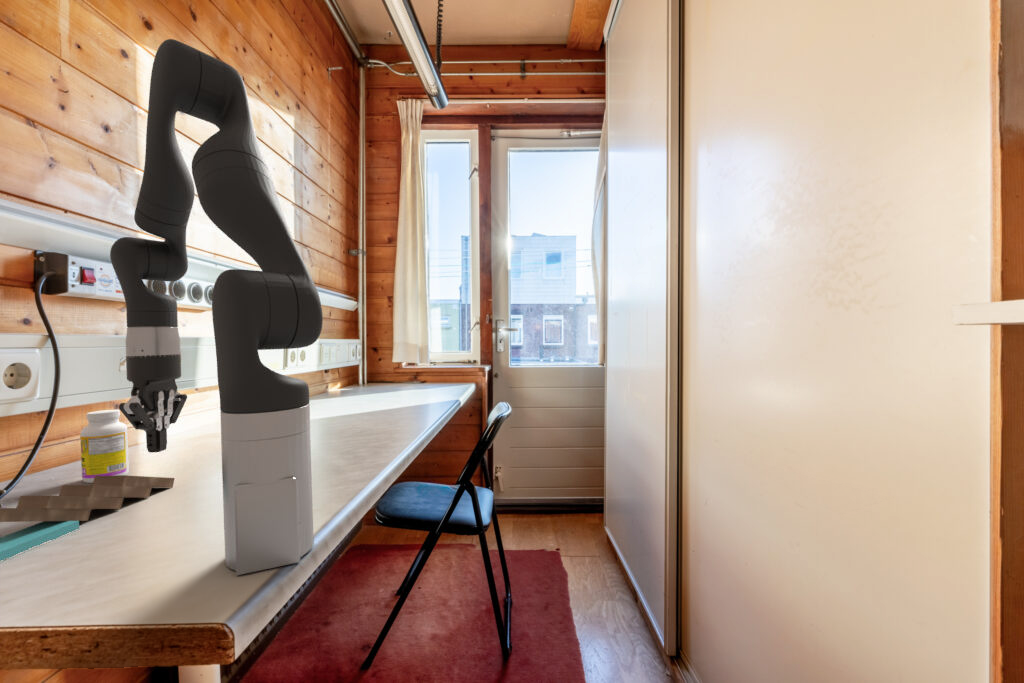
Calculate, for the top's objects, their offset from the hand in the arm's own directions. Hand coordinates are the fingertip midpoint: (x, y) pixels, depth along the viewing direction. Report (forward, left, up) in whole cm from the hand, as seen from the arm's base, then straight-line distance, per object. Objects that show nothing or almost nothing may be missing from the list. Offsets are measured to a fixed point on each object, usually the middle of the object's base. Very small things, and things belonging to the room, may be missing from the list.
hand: (157, 451), depth 79 cm
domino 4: (-5, +2, -6) cm, 7 cm away
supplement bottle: (+12, +11, -7) cm, 18 cm away
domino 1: (-13, +7, -6) cm, 15 cm away
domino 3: (-9, +4, -6) cm, 11 cm away
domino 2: (-16, +7, -6) cm, 18 cm away
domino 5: (0, 0, -6) cm, 6 cm away
